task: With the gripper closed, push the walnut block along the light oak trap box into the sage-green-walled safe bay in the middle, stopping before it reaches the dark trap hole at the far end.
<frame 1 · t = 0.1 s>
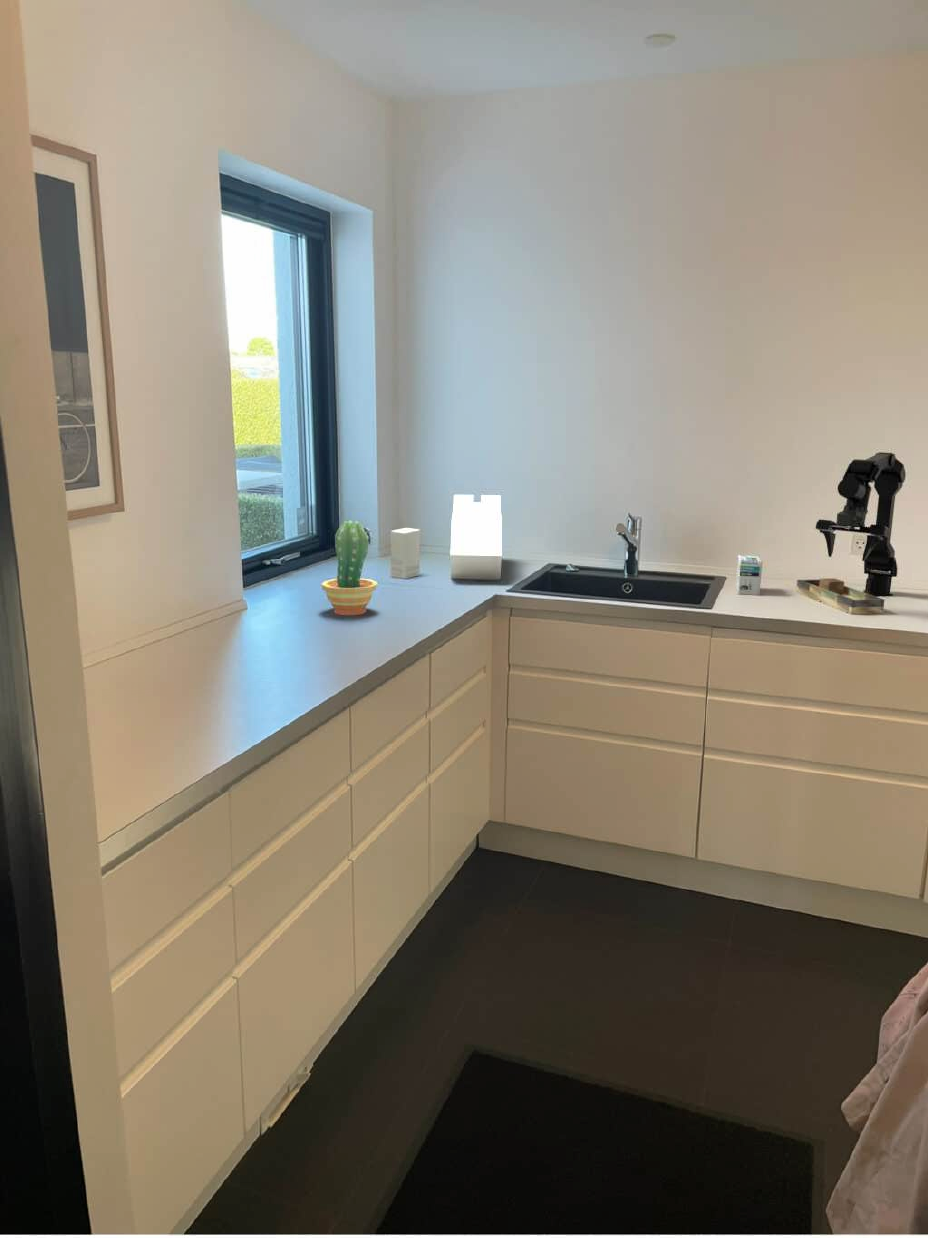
hand: (846, 558, 260), 15 cm above the worktop, tool pointing down, fingers open, 9 cm apart
potted cactus: (350, 612, 255), on the worktop
trap box: (837, 602, 276), on the worktop
walnut block: (830, 593, 280), point 2 cm above the worktop, touching trap box
storage box: (475, 572, 315), on the worktop
skincare box: (405, 576, 306), on the worktop
light bulb box: (747, 592, 290), on the worktop
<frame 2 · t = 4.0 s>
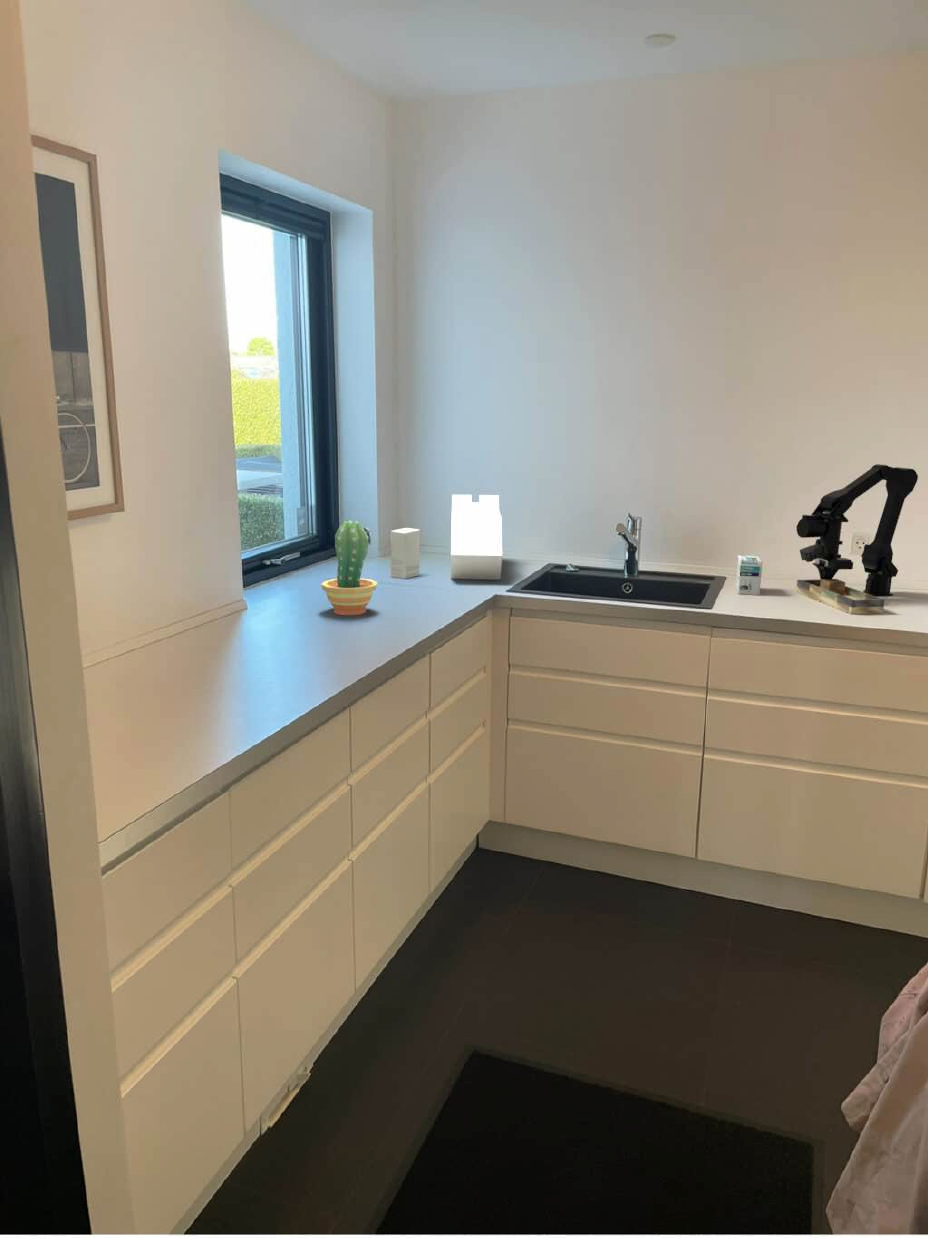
hand: (824, 587, 283), 3 cm above the worktop, tool pointing down, fingers closed
walnut block: (831, 593, 279), point 2 cm above the worktop, touching gripper, trap box
everything else where it was.
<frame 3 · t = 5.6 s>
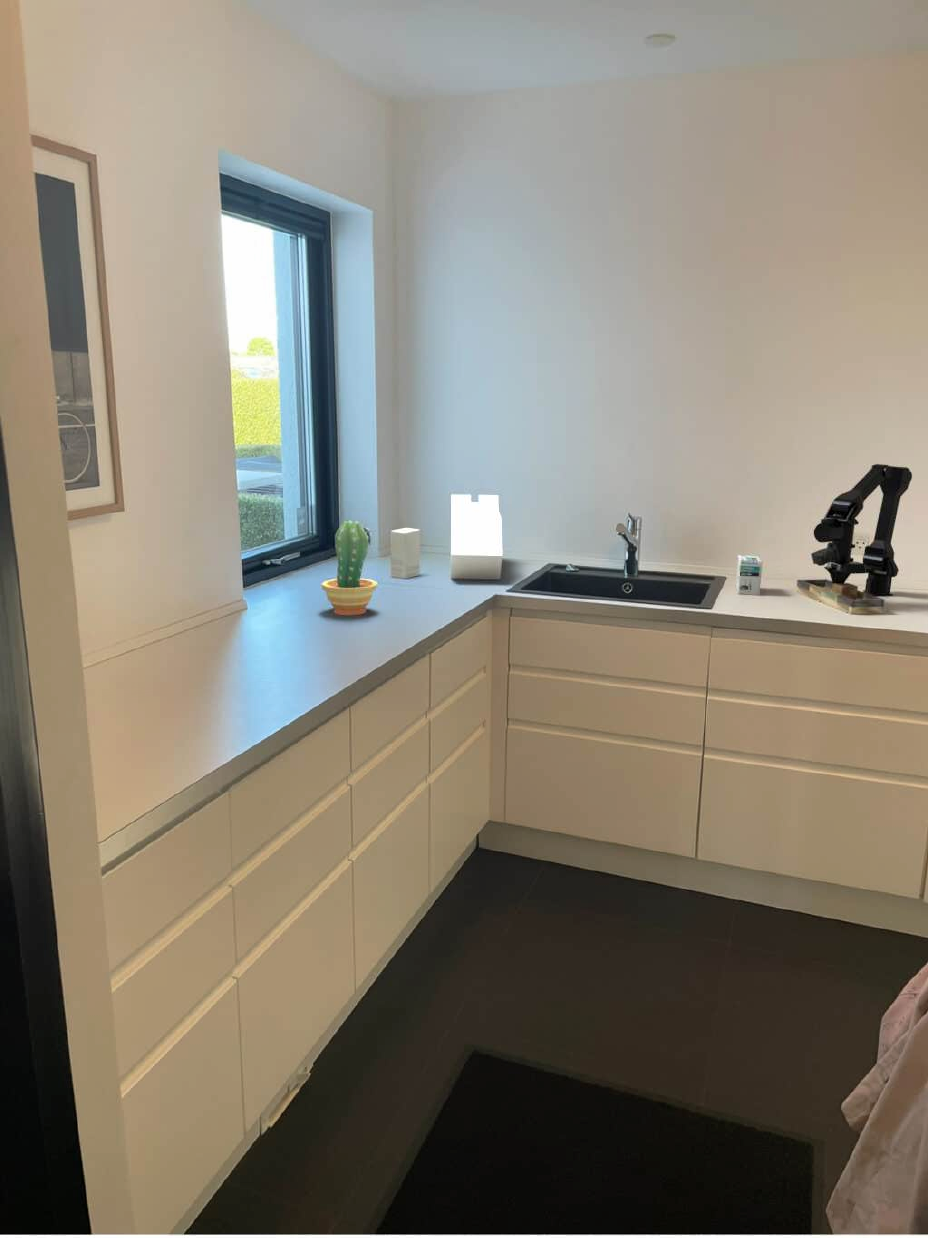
hand: (836, 591, 277), 3 cm above the worktop, tool pointing down, fingers closed
walnut block: (843, 598, 273), point 2 cm above the worktop, touching gripper, trap box
everything else where it was.
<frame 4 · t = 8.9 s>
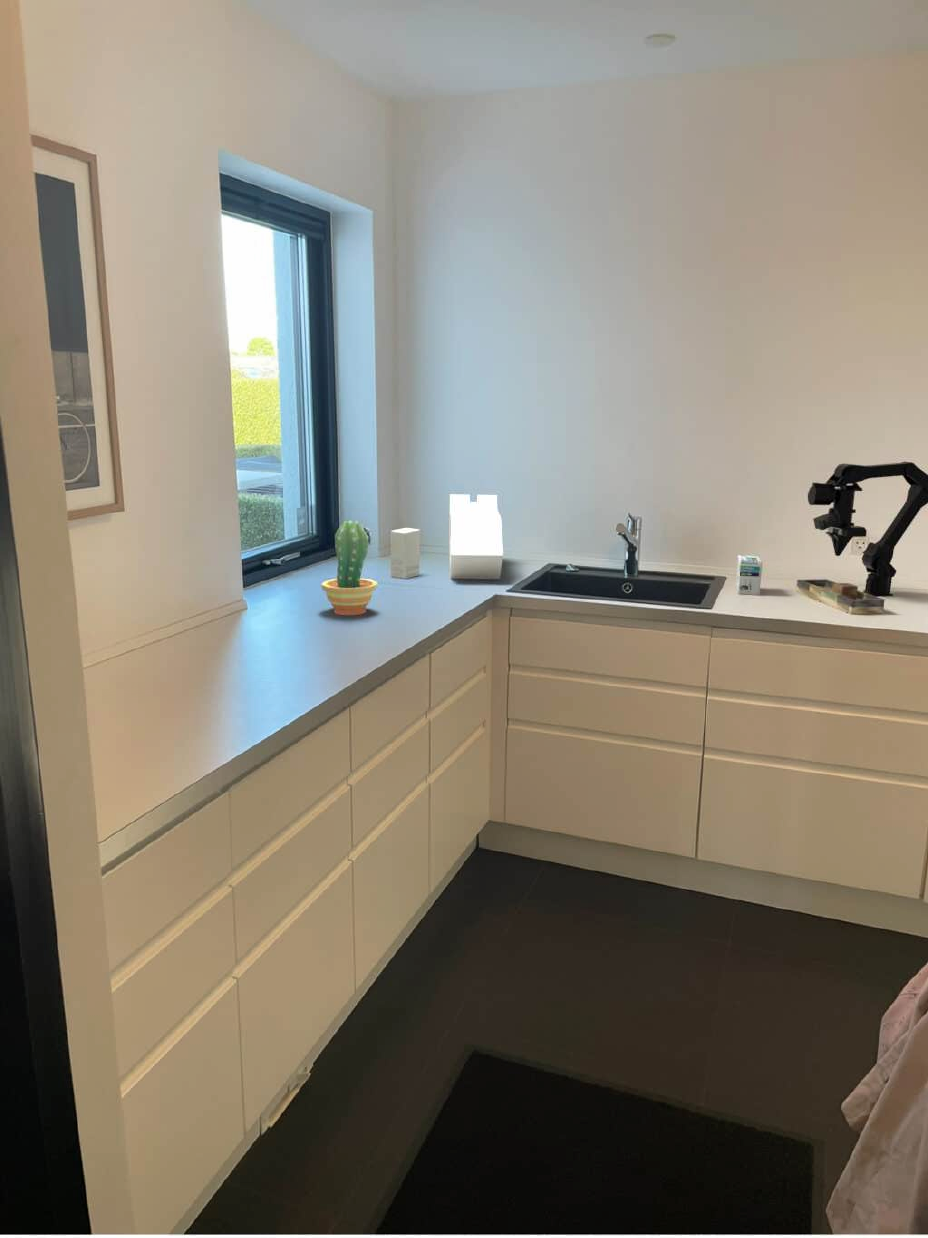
hand: (837, 555, 286), 12 cm above the worktop, tool pointing down, fingers closed
walnut block: (843, 598, 273), point 2 cm above the worktop, touching trap box
at the end: walnut block 0.6 cm from the target spot, point 2.0 cm above the worktop; walnut block tilted 0° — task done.
